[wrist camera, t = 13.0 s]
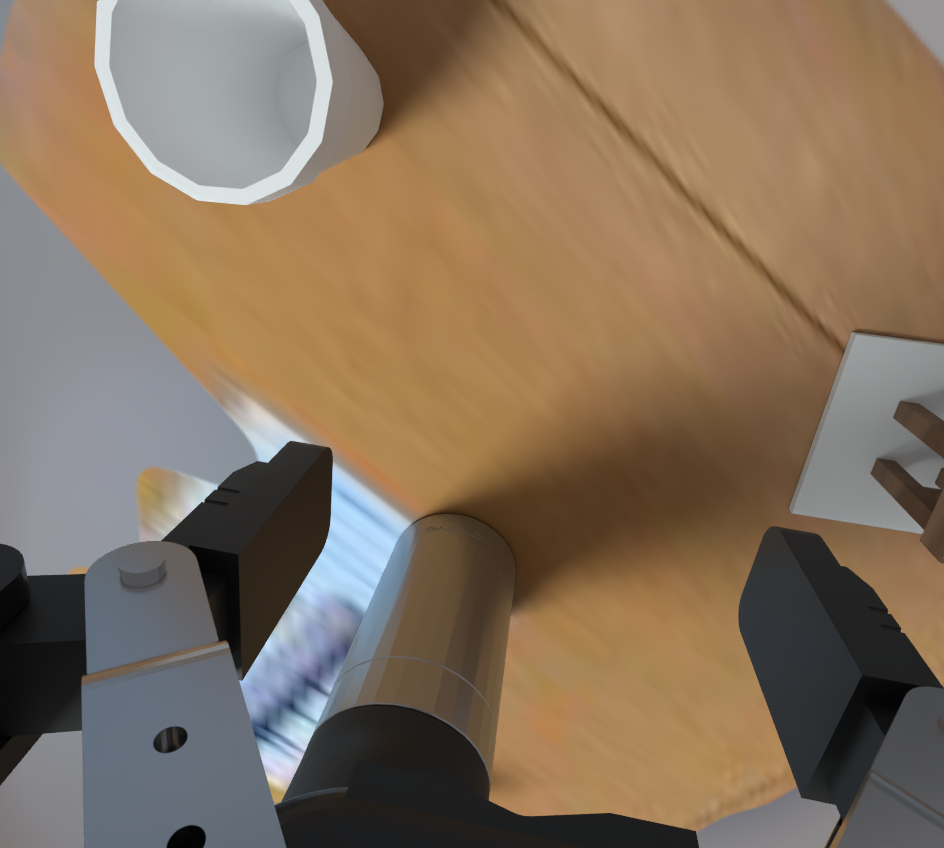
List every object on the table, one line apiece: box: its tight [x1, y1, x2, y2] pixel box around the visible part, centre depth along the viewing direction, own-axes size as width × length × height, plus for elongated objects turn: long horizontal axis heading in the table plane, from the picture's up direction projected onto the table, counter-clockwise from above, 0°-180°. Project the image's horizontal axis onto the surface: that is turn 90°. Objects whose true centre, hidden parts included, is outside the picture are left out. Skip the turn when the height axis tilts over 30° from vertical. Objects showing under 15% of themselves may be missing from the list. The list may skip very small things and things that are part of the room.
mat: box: [789, 332, 944, 534], centre depth 38 cm, size 12×12×1 cm
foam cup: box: [95, 0, 384, 205], centre depth 30 cm, size 10×9×13 cm
